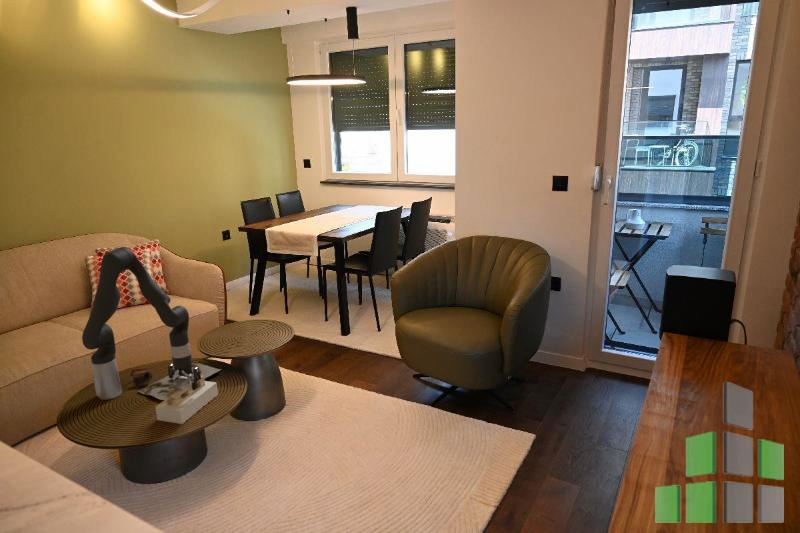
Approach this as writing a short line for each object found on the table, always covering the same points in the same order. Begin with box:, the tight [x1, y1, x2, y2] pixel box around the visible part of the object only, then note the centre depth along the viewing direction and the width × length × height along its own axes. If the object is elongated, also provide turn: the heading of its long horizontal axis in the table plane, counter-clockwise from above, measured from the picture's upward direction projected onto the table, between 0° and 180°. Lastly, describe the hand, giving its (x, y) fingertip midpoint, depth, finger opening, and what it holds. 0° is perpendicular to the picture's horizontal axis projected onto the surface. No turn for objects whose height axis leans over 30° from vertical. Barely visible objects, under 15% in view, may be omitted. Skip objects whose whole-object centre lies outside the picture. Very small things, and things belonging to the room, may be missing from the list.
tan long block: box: [166, 375, 206, 406], centre depth 213 cm, size 5×18×4 cm, turn 164°
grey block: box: [172, 378, 190, 391], centre depth 210 cm, size 4×4×3 cm
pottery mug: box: [129, 367, 154, 388], centre depth 237 cm, size 12×10×8 cm
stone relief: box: [137, 362, 222, 401], centre depth 236 cm, size 32×3×20 cm
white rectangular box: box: [155, 380, 219, 425], centre depth 215 cm, size 12×24×6 cm, turn 164°
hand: (186, 388), depth 213 cm, fingers open, 8 cm apart
